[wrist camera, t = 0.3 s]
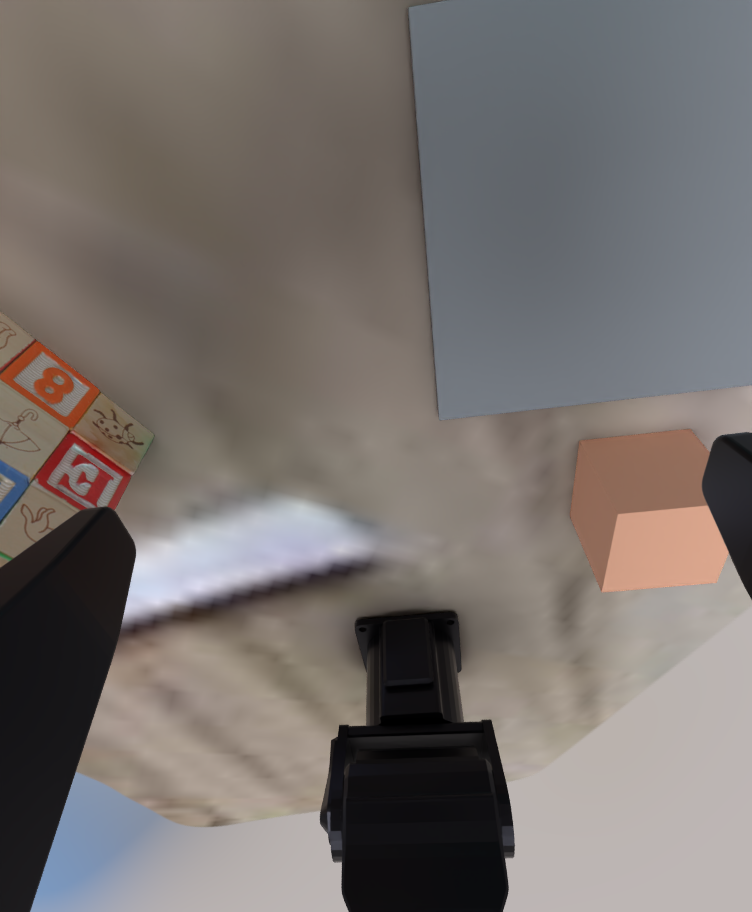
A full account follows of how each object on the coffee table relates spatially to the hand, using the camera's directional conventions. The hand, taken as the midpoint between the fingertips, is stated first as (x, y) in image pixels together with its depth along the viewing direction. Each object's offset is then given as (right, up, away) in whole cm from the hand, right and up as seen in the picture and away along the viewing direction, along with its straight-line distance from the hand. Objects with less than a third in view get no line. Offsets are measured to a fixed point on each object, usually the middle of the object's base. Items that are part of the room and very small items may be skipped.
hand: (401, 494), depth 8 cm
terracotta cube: (+12, 0, +18) cm, 22 cm away
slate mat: (+8, +9, +11) cm, 16 cm away
